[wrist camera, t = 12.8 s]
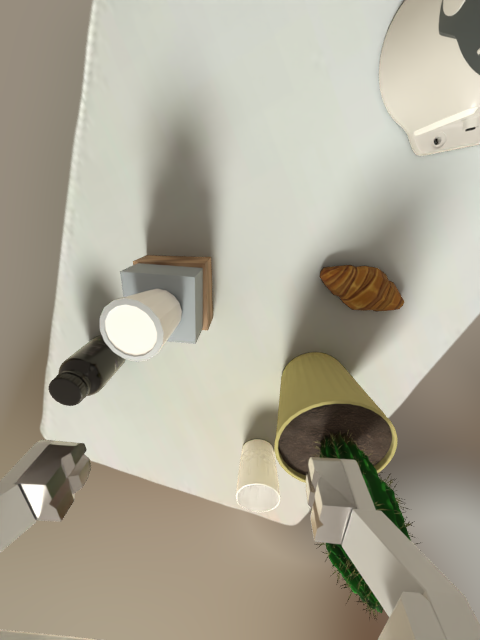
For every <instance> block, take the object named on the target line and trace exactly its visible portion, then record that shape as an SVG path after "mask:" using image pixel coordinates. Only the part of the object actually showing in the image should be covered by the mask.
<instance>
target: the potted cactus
mask: <svg viewBox="0 0 480 640" xmlns="http://www.w3.org/2000/svg"><path fill="white" fill-rule="evenodd" d="M396 447H397V434H396V431H395V428H394V426H393V425H392V423H391V421H390V420H389V419H388V418H387V417H386V416H385V414H384V413H383V412H382V411H381V409H380V408H379V407H378V406H377V405H376V404H375V403H374V401H373V400H372V399H371V398H370V397H369V396H368V395H367V393H366V392H365V391H364V390H363V389H362V388H361V386H360V385H359V384H358V383H357V382H356V381H355V380H354V378H353V377H352V376H351V375H350V374H349V373H348V371H347V370H346V369H345V368H344V367H343V366H342V364H341V363H339V362H338V360H336V359H335V358H334V357H332V356H330V355H327V354H324V353H319V352H311V353H306V354H302V355H300V356H298V357H296V358H294V359H293V360H291V361H290V362H289V363H288V364H287V366H286V367H285V369H284V371H283V374H282V377H281V388H280V399H279V409H278V420H277V430H276V438H275V446H274V450H275V454H276V458H277V460H278V462H279V464H280V465H281V467H282V468H283V469H284V470H285V471H286V472H287V473H288V474H290V475H291V476H292V477H294V478H296V479H298V480H300V481H302V482H305V483H306V475H307V473H308V472H309V465H308V463H309V459H310V457H318V458H338V459H349V460H355V461H356V462H357V464H358V466H359V469H360V471H361V474H362V476H363V479H364V481H365V484H366V486H367V489H368V491H369V494H370V496H371V499H372V501H373V504H374V506H375V509H376V510H379V511H382V512H383V513H384V514H385V515H386V516H387V517H388V518H389V519H390V520H391V521H392V522H393V524H394V525H395V526H396V527H397V528H398V529H399V530H400V531H401V532H402V533H403V534H404V535H405V536H406V537H407V538H408V539H409V540H410V537H409V535H408V532H407V529H406V527H407V525H408V526H409V525H410V524H409V523H408V524H407V525H406V526H405V524H404V522H405V521H404V518H403V516H402V513H401V511H400V509H399V504H398V503H399V502H398V501H400V500H398V499H397V500H398V501H396V498H395V496H394V491H393V490H392V489H391V488H389V487H388V486H387V483H385V482H384V481H383V480H381V479H379V477H378V473H379V472H380V471H381V470H382V469H383V468H385V466H386V465H387V464H388V463H389V462H390V461H391V459H392V457H393V455H394V454H395V451H396ZM391 481H392V480H391ZM391 481H389V482H390V484H391V483H392V482H391ZM389 482H388V483H389ZM390 484H389V485H390ZM311 510H312V508H311ZM412 537H413V536H412ZM410 541H411V540H410ZM323 544H324V543H323ZM323 544H320V546H321V545H323ZM414 545H415V544H414ZM326 548H327V550H328V552H329V555H328V556H329V559H330V560H331V562H332V564H333V566H335V567H336V568H337V569H338V570H337V571H339V572H340V573H341V574H342V577H343V578H344V580H345V581H346V583H347V584H348V585H349V586H348V587H351V589H352V592H354V593H357V594H359V596H360V598H361V599H362V601H360V602H363V603H367V607H368V608H366V609H369V608H370V609H371V608H372V610H374V609H377V611H378V612H380V613H382V610H383V607H382V606H381V604H380V603H379V601H378V600H377V598H376V597H375V595H374V594H373V592H372V591H371V589H370V588H369V586H368V585H367V583H366V582H365V580H364V579H363V577H362V576H361V574H360V573H359V571H358V570H357V568H356V567H355V565H354V564H353V562H352V561H351V559H350V558H349V556H348V555H347V553H346V552H345V550H344V549H343V547H342V544H333V543H326ZM326 554H327V553H326ZM335 572H336V571H335ZM335 572H334V573H335ZM334 573H333V574H334ZM338 574H339V573H338ZM338 577H339V576H338ZM337 581H338V580H337ZM344 585H346V584H344ZM344 588H347V587H344ZM350 596H351V595H350ZM349 598H350V597H349ZM348 600H349V599H348ZM359 600H360V599H359ZM358 602H359V601H358ZM369 611H370V612H371V610H369ZM373 612H374V613H373V614H375V611H373ZM370 614H371V613H370Z"/></svg>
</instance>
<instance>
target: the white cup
mask: <svg viewBox="0 0 480 640" xmlns="http://www.w3.org/2000/svg"><path fill="white" fill-rule="evenodd" d="M236 500H237V502H238V504H239V505H240V506H241V507H243V508H244V509H246V510H249V511H253V512H266V511H270V510H272V509H274V508H276V507H277V506H278V504H279V503H280V491H279V483H278V474H277V468H276V461H275V456H274V450H273V446H272V445H271V444H270V443H269V442H267V441H264V440H261V439H253V440H250V441H248V442H247V443H245V444H244V445H243V448H242V453H241V459H240V466H239V473H238V482H237V490H236Z"/></svg>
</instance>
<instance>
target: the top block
mask: <svg viewBox="0 0 480 640" xmlns="http://www.w3.org/2000/svg"><path fill="white" fill-rule="evenodd" d="M120 274H121V281H122V289H123V297H127V296H131V295H134V294H138V293H141V292H145V291H148V290H153V289H162V290H166V291H168V292H169V293H171V294H172V295H174V296H175V298H176V299H177V300H178V302H179V303H180V307H181V310H182V315H181V320H180V322H179V324H178V325H177V327H176V328H175V330H174V331H173V333H172V334H171V335H170V337H169V338H168V340H167V341H169V342H181V343H193V344H196V342H197V339H198V337H199V335H200V333H201V331H202V328H203V268H197V267H183V266H170V265H156V264H142V263H137V264H135V265H133V266H131V267H129V268H127V269H125V270H123V271H120Z"/></svg>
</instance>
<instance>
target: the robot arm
mask: <svg viewBox="0 0 480 640" xmlns="http://www.w3.org/2000/svg"><path fill="white" fill-rule="evenodd" d="M379 85H380V91H381V96H382V99H383V102H384V105H385V107H386V109H387V111H388V112H389V114H390V116H391V117H392V118H393V119H394V120H395V122H396V123H398V124H399V125H400V126H401V127H402V128H403V129H404V130H405V132H406V133H407V135H408V139H409V142H410V145H411V147H412V150H413V151H414V153H415V154H416V155H418V156H425V155H430V154H435V153H440V152H445V151H450V150H455V149H460V148H465V147H470V146H475V145H480V0H405V1H404V3H403V4H402V5H401V7H400V8H399V10H398V12H397V13H396V15H395V17H394V19H393V21H392V23H391V25H390V27H389V30H388V32H387V35H386V37H385V40H384V44H383V48H382V52H381V57H380V64H379ZM435 138H437V140H438V142H437V144H436V145H435V144H434V139H435ZM85 452H86V447H85V444H84V443H74V442H63V441H51V440H40V441H39V442H37V443H35V444H34V445H33V446H32V447H31V449H30V450H29V451H28V452H27V453H26V454H25V455H24V456H23V457H22V458H21V459H20V460H19V461H18V462H17V463H16V464H15V466H13V468H12V469H11V470H10V471H9V472H8V473H7V474H6V475H5V476H4V477H3V478H2V479H1V480H0V552H2V551H3V550H4V549H5V548H6V547H7V546H9V545H10V544H11V543H12V542H13V541H14V540H16V539H17V538H18V537H19V536H20V535H21V534H23V533H24V532H25V531H26V530H27V529H29V528H30V527H31V526H32V525H33V524H34V523H36V520H41V521H62V520H63V518H64V516H65V515H66V513H67V512H68V510H69V508H70V507H71V505H72V503H73V502H74V493H76V492H77V491H78V490H80V489H81V488H82V487H83V486H84V484H85V482H86V481H87V479H88V476H89V473H90V470H91V463H90V459H89V458H88V457H87V456H86V455H85V454H84V453H85ZM308 465H309V472H308V473H307V475H306V495H307V502H308V504H309V506H310V507H311V508H312V512H311V517H310V519H311V525H312V530H313V536H314V541H315V542H324V543H333V544H342V547H343V549H344V550H345V552H346V553H347V555H348V556H349V558H350V559H351V561H352V562H353V564H354V565H355V567H356V568H357V570H358V571H359V573H360V574H361V576H362V577H363V579H364V580H365V582H366V583H367V585H368V586H369V588H370V589H371V591H372V592H373V594H374V595H375V597H376V598H377V600H378V601H379V603H380V604H381V606H382V607H383V608H384V610H385V611H386V613H387V614H388V616H389V619H388V621H387V623H386V625H385V627H384V629H383V631H382V633H381V634H380V636H379V638H378V640H480V624H479V622H478V620H477V618H476V616H475V614H474V613H473V611H472V609H471V607H470V605H469V603H468V601H467V600H466V597H465V596H464V595H463V594H462V593H461V592H460V590H459V589H458V588H457V587H455V585H454V584H453V583H451V581H450V580H449V579H448V578H447V577H446V576H445V575H444V574H443V573H442V572H441V571H440V570H439V569H438V568H437V567H436V566H435V565H434V564H433V563H432V562H431V561H430V560H429V559H428V558H427V557H426V556H425V555H424V554H423V553H422V552H421V551H420V550H419V549H418V548H417V547H416V546H415V545H414V544H413V543H412V542H411V541H410V540H409V539H408V538H407V537H406V536H405V535H404V534H403V533H402V532H401V531H400V530H399V529H398V528H397V527H396V526H395V525H394V524H393V522H392V521H391V520H390V519H389V518H388V517H387V516H386V515H385V514H384V513H383V512H382V511H379V510H376V509H375V506H374V504H373V501H372V499H371V496H370V494H369V491H368V489H367V486H366V484H365V481H364V479H363V476H362V474H361V471H360V469H359V466H358V464H357V462H356V461H355V460H349V459H338V458H318V457H310V459H309V463H308ZM0 640H99V639H87V638H79V637H69V636H59V635H49V634H39V633H29V632H19V631H10V630H0Z"/></svg>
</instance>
